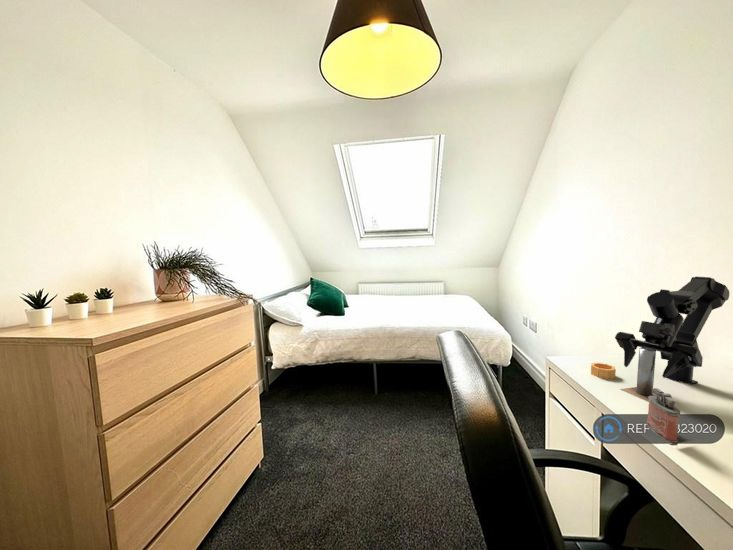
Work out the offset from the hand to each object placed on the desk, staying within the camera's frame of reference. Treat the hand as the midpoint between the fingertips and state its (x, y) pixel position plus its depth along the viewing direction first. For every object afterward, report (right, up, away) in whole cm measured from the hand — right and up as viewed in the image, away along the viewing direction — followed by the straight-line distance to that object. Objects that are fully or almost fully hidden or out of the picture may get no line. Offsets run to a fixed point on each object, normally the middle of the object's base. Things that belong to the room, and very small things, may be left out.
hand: (643, 371), depth 94 cm
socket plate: (-1, -6, +15) cm, 16 cm away
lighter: (-11, -10, -18) cm, 23 cm away
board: (+1, -8, +1) cm, 8 cm away
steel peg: (+1, -7, +1) cm, 7 cm away
